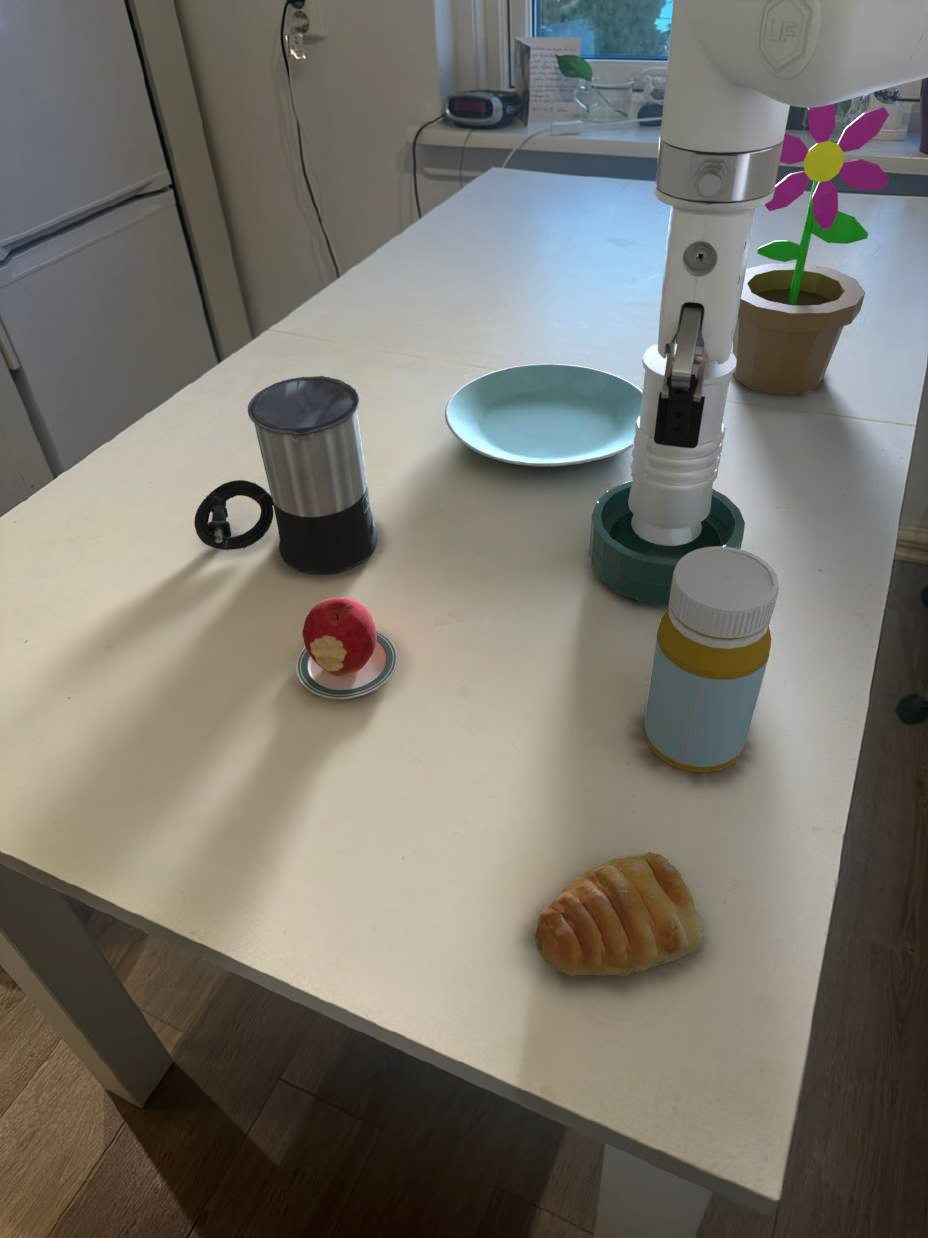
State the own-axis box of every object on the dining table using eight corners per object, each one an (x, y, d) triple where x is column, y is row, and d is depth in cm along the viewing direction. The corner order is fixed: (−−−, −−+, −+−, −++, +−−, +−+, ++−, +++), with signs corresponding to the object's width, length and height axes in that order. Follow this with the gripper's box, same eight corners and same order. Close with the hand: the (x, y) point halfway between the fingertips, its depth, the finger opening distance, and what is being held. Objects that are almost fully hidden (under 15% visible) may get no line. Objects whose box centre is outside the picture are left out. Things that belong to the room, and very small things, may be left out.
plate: (483, 373, 106) (482, 351, 104) (667, 396, 99) (670, 373, 98) (415, 469, 90) (413, 445, 88) (628, 503, 84) (631, 478, 82)
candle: (610, 513, 76) (624, 349, 66) (680, 494, 77) (703, 331, 67) (650, 557, 71) (672, 388, 61) (724, 536, 73) (756, 368, 63)
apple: (412, 683, 68) (405, 621, 63) (312, 716, 66) (298, 654, 61) (379, 620, 73) (370, 559, 69) (286, 649, 71) (271, 588, 67)
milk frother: (392, 561, 79) (374, 414, 69) (218, 608, 75) (173, 460, 65) (348, 482, 89) (327, 343, 79) (193, 521, 85) (150, 380, 75)
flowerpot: (707, 395, 99) (755, 93, 79) (720, 341, 109) (766, 61, 89) (840, 410, 96) (926, 98, 75) (842, 353, 106) (918, 63, 85)
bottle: (738, 788, 59) (783, 625, 49) (635, 765, 61) (658, 603, 51) (747, 714, 64) (790, 552, 54) (651, 694, 66) (675, 534, 56)
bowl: (739, 533, 80) (749, 487, 77) (727, 623, 71) (738, 575, 68) (603, 514, 83) (607, 469, 80) (575, 597, 74) (578, 551, 71)
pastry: (564, 1014, 48) (567, 982, 46) (515, 911, 53) (515, 877, 51) (710, 952, 51) (720, 918, 48) (650, 859, 55) (657, 824, 53)
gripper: (770, 217, 49) (720, 488, 61) (783, 135, 61) (739, 375, 73) (635, 210, 50) (613, 474, 62) (674, 132, 63) (649, 366, 75)
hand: (681, 419), depth 67 cm, fingers closed on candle, 6 cm apart
